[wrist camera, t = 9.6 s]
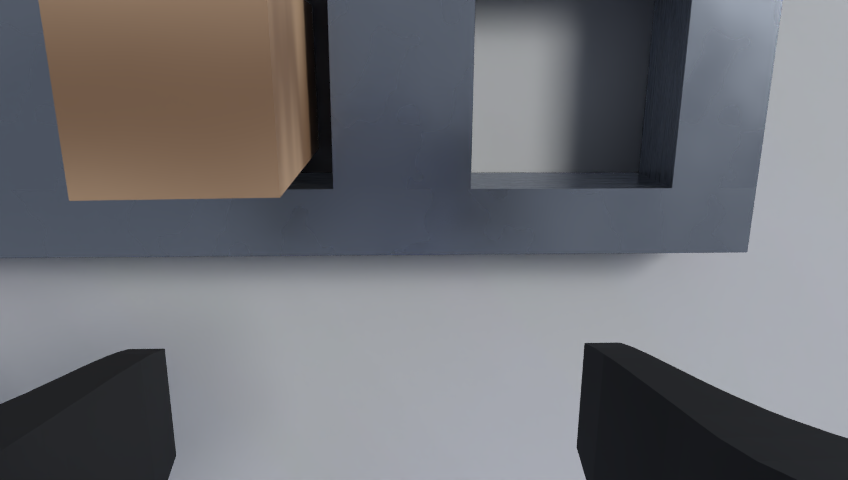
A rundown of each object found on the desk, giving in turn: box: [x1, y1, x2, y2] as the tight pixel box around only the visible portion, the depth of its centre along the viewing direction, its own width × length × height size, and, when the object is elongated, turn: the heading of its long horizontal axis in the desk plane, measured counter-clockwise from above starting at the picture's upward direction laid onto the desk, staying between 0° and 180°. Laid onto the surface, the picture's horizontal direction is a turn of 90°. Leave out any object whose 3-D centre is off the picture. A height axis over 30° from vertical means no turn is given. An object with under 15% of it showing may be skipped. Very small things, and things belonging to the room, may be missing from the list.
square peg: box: [38, 0, 319, 201], centre depth 16 cm, size 4×4×7 cm
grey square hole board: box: [0, 0, 783, 258], centre depth 18 cm, size 9×28×2 cm, turn 90°
